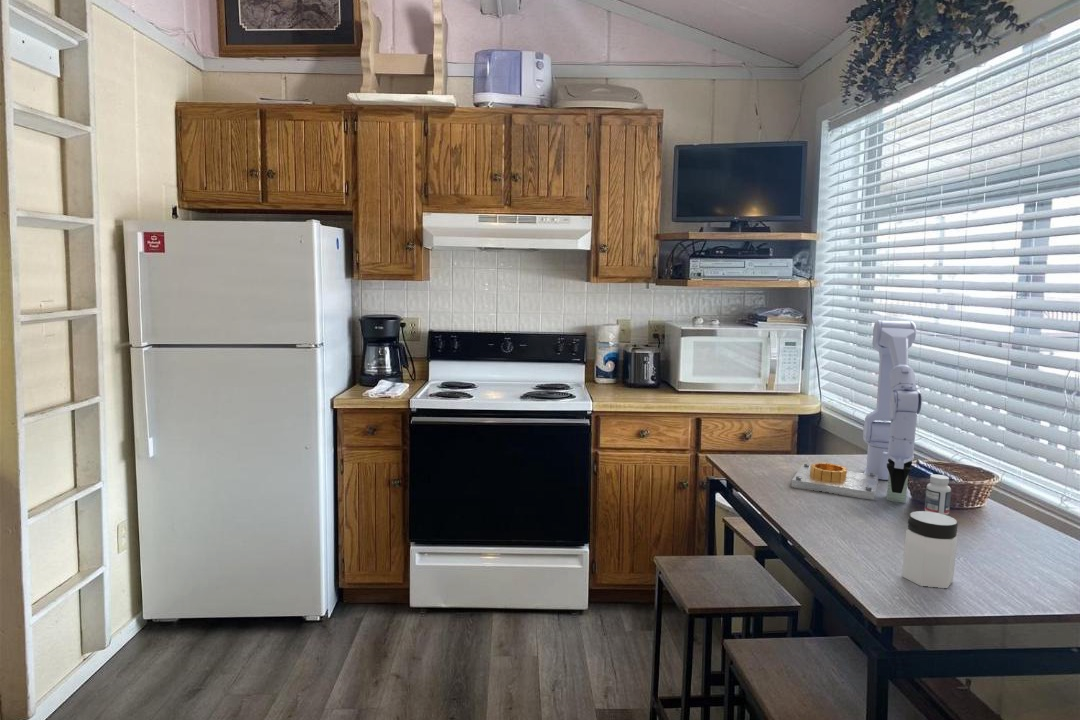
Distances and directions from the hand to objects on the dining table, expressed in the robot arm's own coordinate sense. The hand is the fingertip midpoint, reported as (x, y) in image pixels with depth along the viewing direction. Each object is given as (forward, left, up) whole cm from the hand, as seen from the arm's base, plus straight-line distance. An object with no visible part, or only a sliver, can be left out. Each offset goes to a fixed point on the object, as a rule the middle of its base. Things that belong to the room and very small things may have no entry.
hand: (897, 489), depth 190 cm
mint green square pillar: (0, 0, -2) cm, 2 cm away
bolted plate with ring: (-5, -15, -2) cm, 16 cm away
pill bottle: (+6, +9, -3) cm, 11 cm away
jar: (+52, +7, -3) cm, 53 cm away
